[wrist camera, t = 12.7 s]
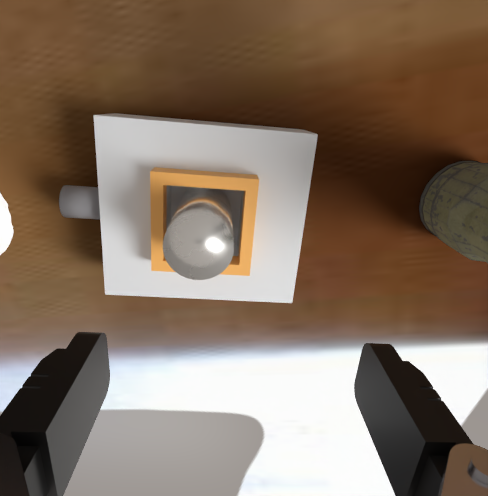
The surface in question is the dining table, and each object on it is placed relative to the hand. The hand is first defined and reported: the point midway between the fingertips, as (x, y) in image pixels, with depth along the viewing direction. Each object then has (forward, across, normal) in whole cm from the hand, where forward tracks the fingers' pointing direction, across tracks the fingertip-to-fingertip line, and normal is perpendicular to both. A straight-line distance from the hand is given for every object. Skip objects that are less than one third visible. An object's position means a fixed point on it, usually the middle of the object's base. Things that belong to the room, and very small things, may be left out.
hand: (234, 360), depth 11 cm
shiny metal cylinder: (+24, +2, +2) cm, 25 cm away
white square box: (+28, +2, +2) cm, 28 cm away
